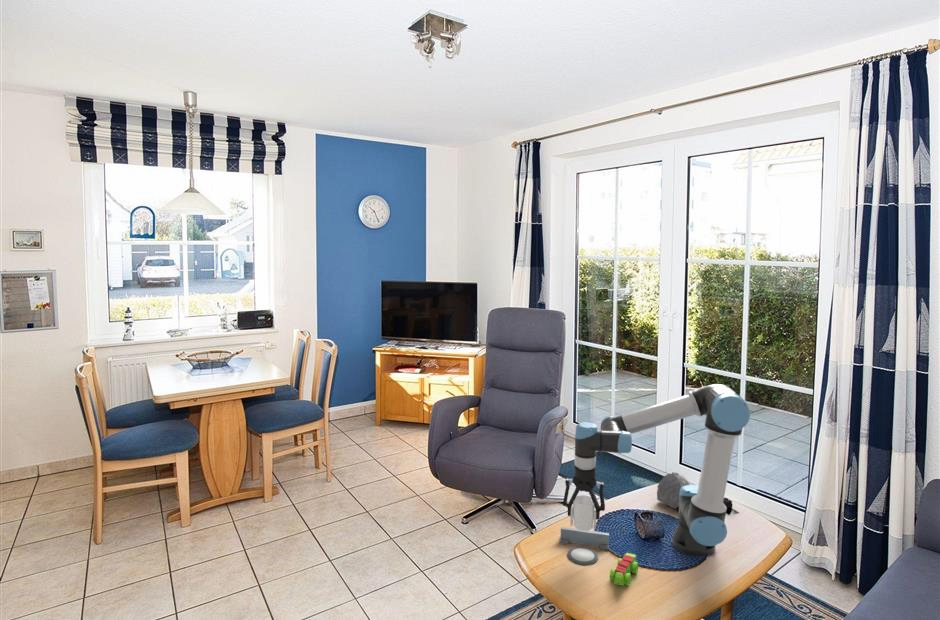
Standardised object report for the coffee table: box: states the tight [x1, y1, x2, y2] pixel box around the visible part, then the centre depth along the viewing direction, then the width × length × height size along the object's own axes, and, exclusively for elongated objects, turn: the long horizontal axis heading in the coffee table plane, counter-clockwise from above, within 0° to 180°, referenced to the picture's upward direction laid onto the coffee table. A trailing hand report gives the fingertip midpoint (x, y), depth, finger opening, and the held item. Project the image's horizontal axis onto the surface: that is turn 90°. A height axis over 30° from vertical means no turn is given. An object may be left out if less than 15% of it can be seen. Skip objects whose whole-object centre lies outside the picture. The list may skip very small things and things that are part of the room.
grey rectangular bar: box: [559, 526, 610, 551], centre depth 215 cm, size 18×5×5 cm, turn 75°
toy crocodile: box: [609, 552, 639, 586], centre depth 194 cm, size 20×7×6 cm, turn 147°
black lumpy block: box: [723, 497, 740, 516], centre depth 241 cm, size 12×7×5 cm, turn 17°
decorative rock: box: [656, 471, 690, 510], centre depth 243 cm, size 16×7×15 cm, turn 37°
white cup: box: [572, 494, 595, 531], centre depth 204 cm, size 8×8×10 cm
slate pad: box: [567, 546, 599, 566], centre depth 206 cm, size 11×11×1 cm
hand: (583, 525), depth 205 cm, fingers closed on white cup, 7 cm apart
